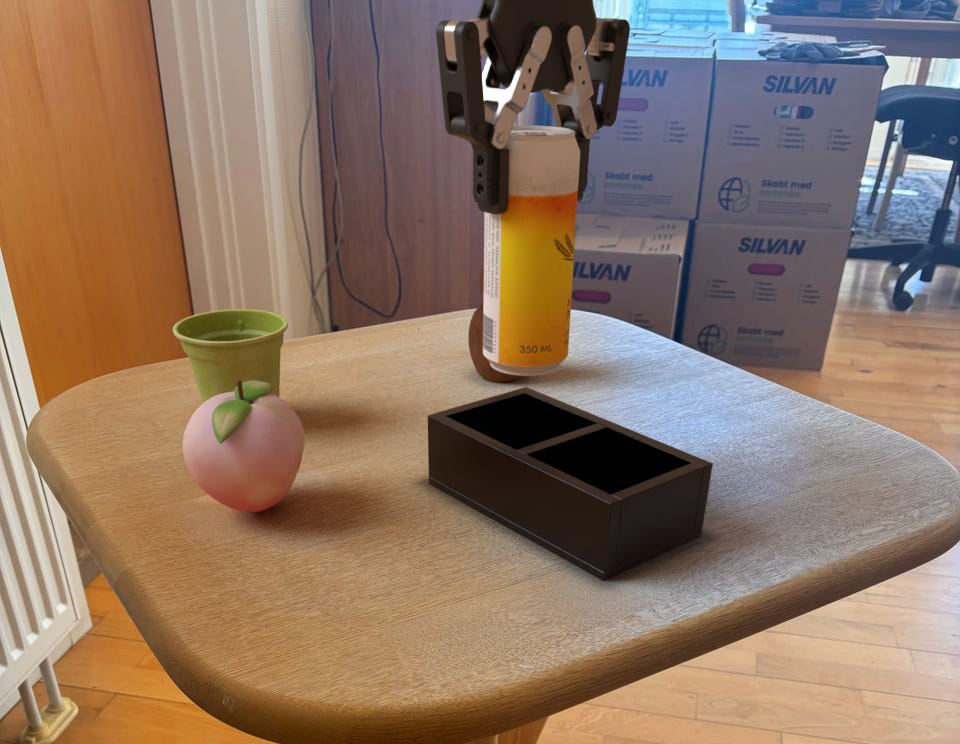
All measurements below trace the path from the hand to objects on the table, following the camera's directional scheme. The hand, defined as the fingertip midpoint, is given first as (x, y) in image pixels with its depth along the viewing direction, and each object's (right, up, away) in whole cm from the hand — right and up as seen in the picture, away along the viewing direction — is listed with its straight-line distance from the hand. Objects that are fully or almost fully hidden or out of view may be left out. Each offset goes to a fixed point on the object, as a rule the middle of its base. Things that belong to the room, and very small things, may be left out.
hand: (531, 205), depth 64 cm
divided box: (+3, -19, +9) cm, 21 cm away
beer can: (0, -9, +6) cm, 11 cm away
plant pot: (-24, -10, +22) cm, 34 cm away
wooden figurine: (-1, -3, +33) cm, 33 cm away
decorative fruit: (-20, -19, +8) cm, 29 cm away
